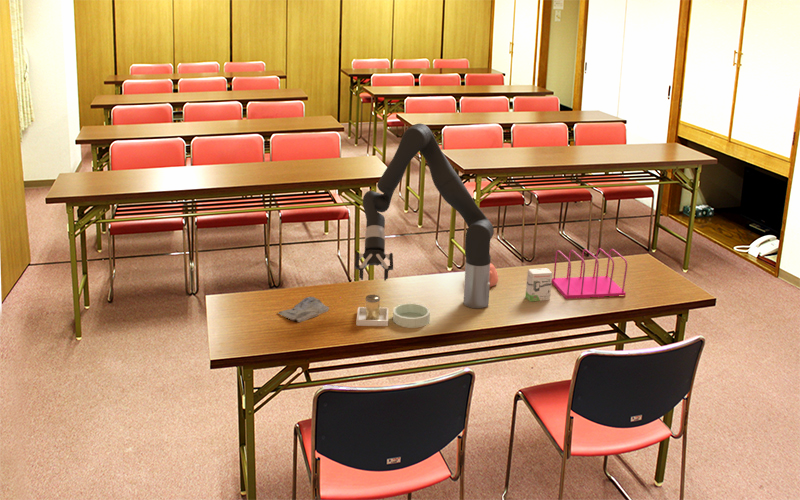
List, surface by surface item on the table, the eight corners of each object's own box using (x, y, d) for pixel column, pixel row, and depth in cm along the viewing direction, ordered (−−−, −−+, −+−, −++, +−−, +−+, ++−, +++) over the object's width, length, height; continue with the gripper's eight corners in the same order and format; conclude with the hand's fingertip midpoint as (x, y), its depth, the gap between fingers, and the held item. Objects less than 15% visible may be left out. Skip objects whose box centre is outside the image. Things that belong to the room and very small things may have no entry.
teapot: (476, 291, 285) (477, 269, 282) (461, 275, 302) (462, 254, 298) (504, 289, 288) (506, 267, 285) (487, 272, 305) (489, 252, 301)
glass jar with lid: (379, 315, 261) (380, 294, 258) (379, 322, 256) (379, 300, 253) (365, 315, 261) (366, 294, 258) (365, 321, 256) (365, 300, 253)
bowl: (428, 313, 265) (429, 303, 264) (430, 329, 253) (430, 319, 252) (393, 312, 265) (393, 302, 264) (392, 328, 253) (393, 318, 251)
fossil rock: (296, 325, 255) (295, 319, 254) (272, 312, 265) (271, 306, 264) (334, 311, 266) (334, 305, 266) (309, 299, 276) (309, 293, 276)
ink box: (529, 301, 277) (532, 273, 273) (524, 296, 281) (527, 269, 277) (550, 300, 279) (553, 272, 275) (545, 295, 283) (547, 267, 279)
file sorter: (550, 282, 296) (554, 246, 291) (607, 279, 300) (612, 244, 294) (565, 299, 280) (569, 262, 275) (625, 296, 284) (630, 259, 278)
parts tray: (388, 313, 264) (388, 307, 263) (387, 327, 254) (387, 320, 253) (358, 313, 264) (358, 307, 263) (356, 326, 254) (356, 320, 253)
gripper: (355, 235, 266) (353, 275, 259) (393, 236, 266) (392, 276, 259) (356, 243, 273) (354, 283, 266) (393, 244, 273) (392, 283, 266)
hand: (373, 279), depth 263 cm, fingers open, 8 cm apart
